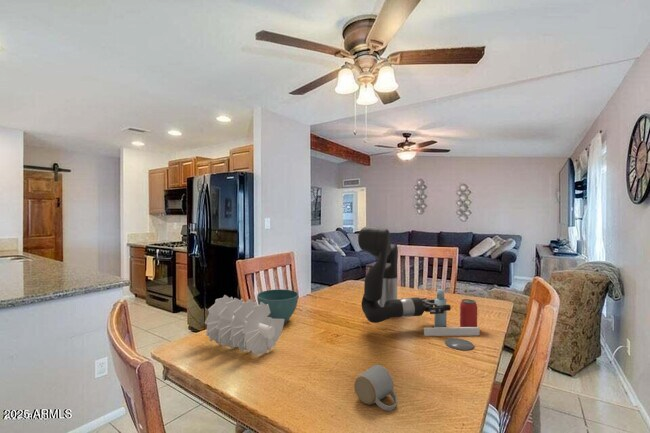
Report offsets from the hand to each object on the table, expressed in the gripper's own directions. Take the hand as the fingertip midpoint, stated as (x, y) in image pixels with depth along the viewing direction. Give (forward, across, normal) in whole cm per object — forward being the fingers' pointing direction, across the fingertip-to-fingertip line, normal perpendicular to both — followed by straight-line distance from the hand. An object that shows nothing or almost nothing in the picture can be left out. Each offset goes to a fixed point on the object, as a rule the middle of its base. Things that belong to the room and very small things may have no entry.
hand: (444, 304), depth 138 cm
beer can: (+8, -5, +10) cm, 14 cm away
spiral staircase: (-83, -2, +10) cm, 84 cm away
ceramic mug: (-48, -44, +10) cm, 66 cm away
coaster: (-5, -18, +10) cm, 21 cm away
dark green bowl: (-68, +23, +10) cm, 73 cm away
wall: (-2, -9, +10) cm, 13 cm away
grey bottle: (-2, 0, +10) cm, 10 cm away
